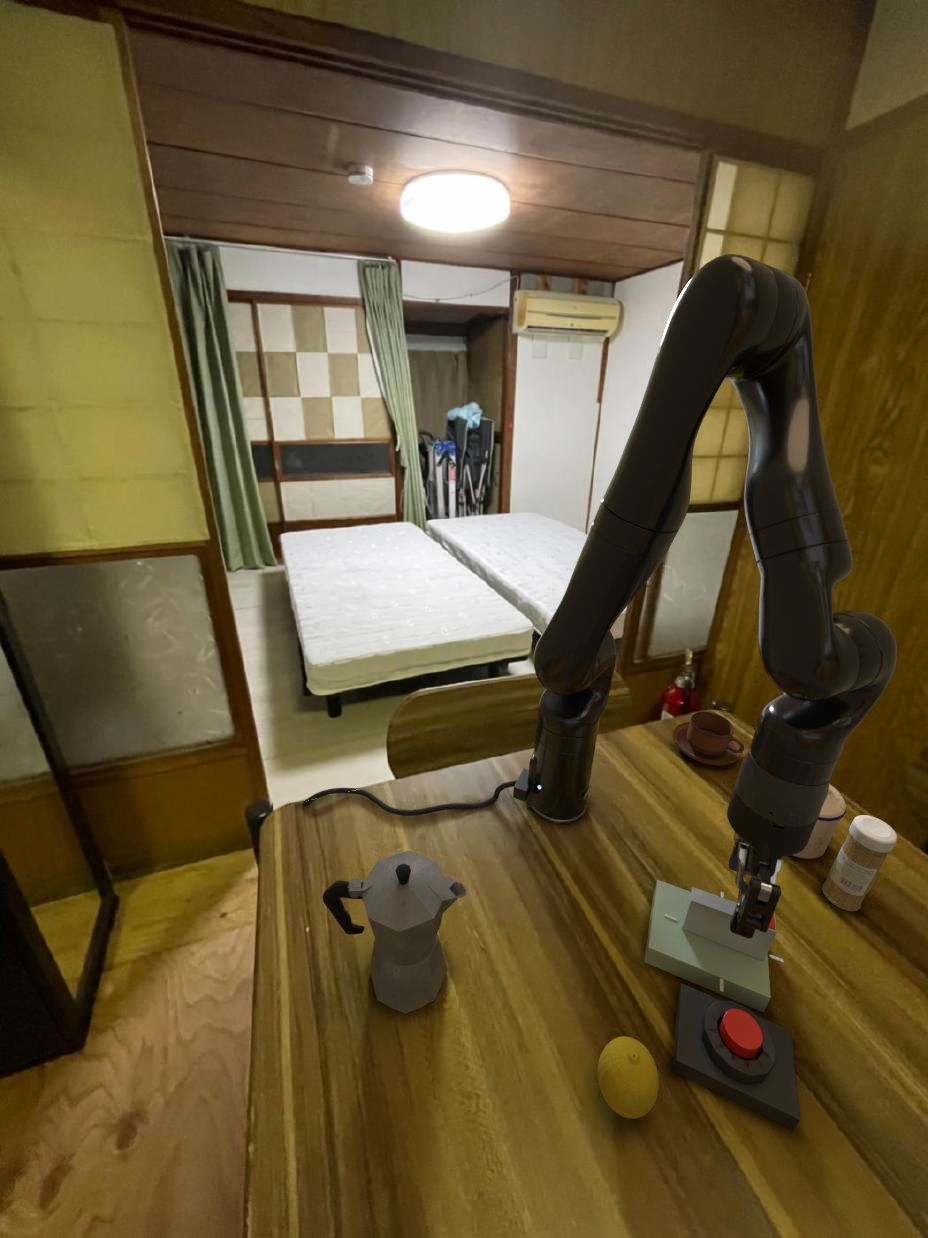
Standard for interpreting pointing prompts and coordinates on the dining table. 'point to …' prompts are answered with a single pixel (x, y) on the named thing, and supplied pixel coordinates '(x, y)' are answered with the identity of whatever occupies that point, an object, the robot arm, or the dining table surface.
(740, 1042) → the tap button
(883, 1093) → the dining table surface
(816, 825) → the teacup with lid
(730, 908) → the gray rectangular block
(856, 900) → the sprinkles bottle
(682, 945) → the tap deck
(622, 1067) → the lemon
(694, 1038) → the button block
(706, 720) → the cup and saucer
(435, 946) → the coffeepot
